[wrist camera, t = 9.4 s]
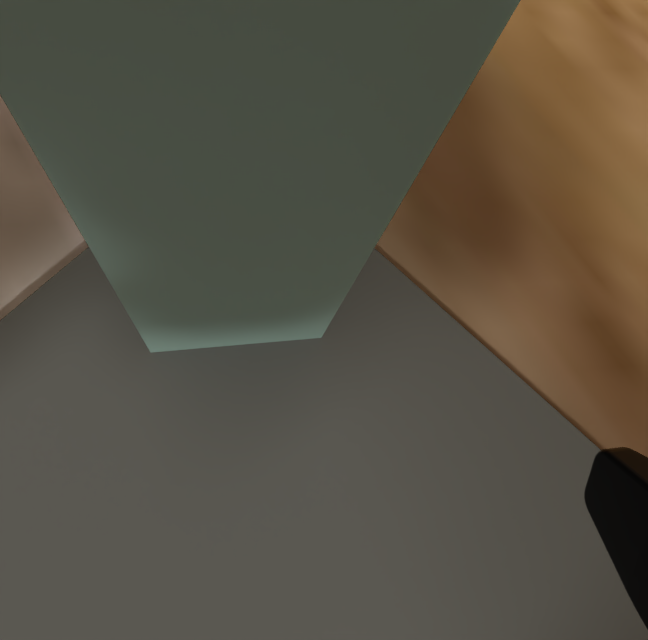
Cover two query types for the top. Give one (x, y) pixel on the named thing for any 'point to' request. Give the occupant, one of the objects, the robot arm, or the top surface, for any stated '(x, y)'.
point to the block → (237, 143)
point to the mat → (288, 482)
